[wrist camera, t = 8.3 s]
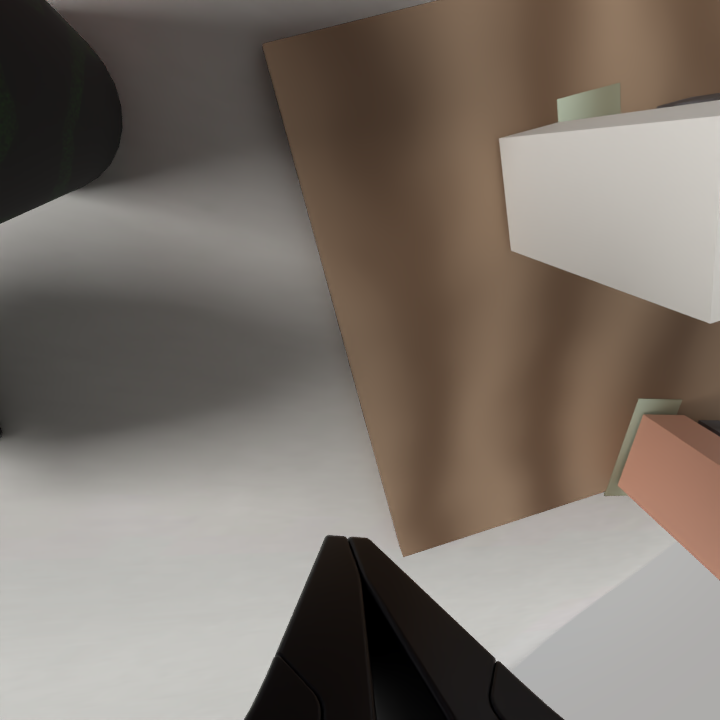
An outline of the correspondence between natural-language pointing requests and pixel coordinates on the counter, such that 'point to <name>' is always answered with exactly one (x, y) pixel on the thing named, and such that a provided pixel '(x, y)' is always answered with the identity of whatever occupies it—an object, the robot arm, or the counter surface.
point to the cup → (50, 108)
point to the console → (487, 248)
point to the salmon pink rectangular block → (678, 482)
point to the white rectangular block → (624, 202)
